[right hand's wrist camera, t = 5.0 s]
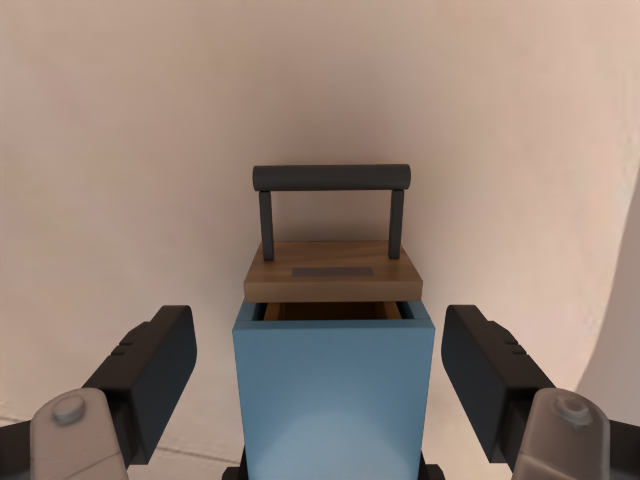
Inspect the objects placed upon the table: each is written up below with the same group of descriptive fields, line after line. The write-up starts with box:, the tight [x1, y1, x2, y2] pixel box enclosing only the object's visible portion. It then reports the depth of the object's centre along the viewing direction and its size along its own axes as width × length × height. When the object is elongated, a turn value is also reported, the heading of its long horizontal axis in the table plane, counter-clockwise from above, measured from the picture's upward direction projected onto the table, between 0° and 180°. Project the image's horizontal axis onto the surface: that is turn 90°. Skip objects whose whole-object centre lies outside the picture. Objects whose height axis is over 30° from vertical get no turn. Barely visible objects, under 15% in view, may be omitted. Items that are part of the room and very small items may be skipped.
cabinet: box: [232, 298, 435, 480], centre depth 25 cm, size 17×10×8 cm, turn 1°
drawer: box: [244, 164, 423, 321], centre depth 23 cm, size 22×9×6 cm, turn 1°
